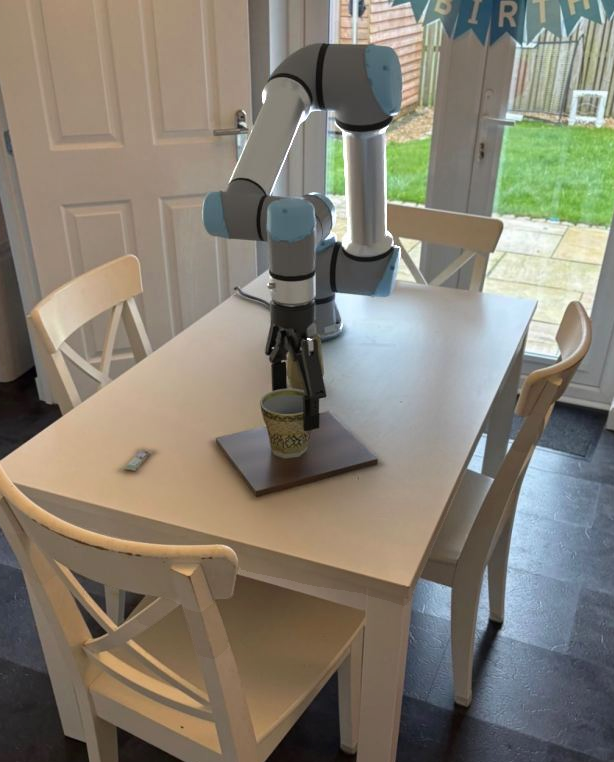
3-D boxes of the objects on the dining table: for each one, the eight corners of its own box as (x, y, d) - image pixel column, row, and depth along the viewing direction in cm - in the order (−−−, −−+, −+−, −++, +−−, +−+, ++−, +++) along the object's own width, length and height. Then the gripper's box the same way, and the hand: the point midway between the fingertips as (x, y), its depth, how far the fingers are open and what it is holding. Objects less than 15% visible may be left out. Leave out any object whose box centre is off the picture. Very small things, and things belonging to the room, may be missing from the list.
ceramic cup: (296, 469, 139) (295, 420, 133) (251, 453, 144) (248, 405, 138) (334, 438, 148) (335, 390, 143) (290, 423, 153) (290, 377, 147)
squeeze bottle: (330, 384, 169) (331, 304, 159) (314, 400, 163) (314, 318, 153) (296, 377, 172) (295, 298, 162) (279, 392, 166) (277, 311, 156)
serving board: (215, 443, 149) (215, 437, 148) (328, 416, 158) (328, 410, 157) (256, 497, 134) (255, 491, 133) (377, 464, 143) (378, 458, 142)
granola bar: (135, 473, 141) (134, 468, 140) (123, 471, 141) (123, 466, 141) (152, 454, 146) (152, 450, 145) (141, 452, 147) (140, 448, 146)
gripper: (243, 278, 137) (249, 386, 149) (304, 330, 118) (305, 449, 131) (282, 271, 140) (285, 378, 152) (348, 321, 121) (345, 438, 133)
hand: (294, 411), depth 141 cm, fingers open, 13 cm apart
